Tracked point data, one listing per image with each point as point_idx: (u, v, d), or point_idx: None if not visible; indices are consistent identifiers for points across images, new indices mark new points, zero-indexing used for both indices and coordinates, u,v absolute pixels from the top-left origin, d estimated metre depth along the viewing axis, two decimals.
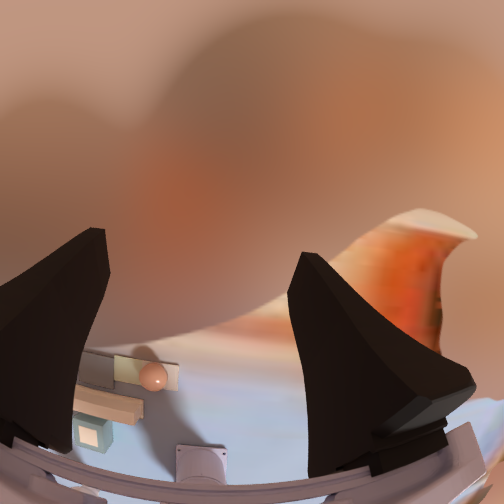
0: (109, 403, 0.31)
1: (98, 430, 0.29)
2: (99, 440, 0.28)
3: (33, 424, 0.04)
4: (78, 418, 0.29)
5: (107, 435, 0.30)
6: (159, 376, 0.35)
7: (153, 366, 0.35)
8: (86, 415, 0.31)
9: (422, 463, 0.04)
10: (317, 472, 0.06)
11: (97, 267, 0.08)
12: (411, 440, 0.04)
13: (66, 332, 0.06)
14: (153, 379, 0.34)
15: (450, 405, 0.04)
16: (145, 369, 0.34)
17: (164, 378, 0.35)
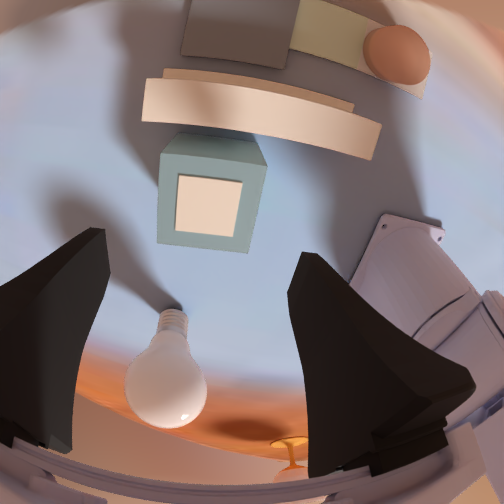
0: (293, 96, 0.12)
1: (251, 180, 0.13)
2: (243, 214, 0.14)
3: (33, 424, 0.04)
4: (180, 152, 0.12)
5: None
6: (419, 55, 0.11)
7: (412, 32, 0.10)
8: (196, 144, 0.14)
9: (422, 463, 0.04)
10: (317, 472, 0.06)
11: (97, 267, 0.08)
12: (411, 440, 0.04)
13: (66, 332, 0.06)
14: (407, 57, 0.11)
15: (450, 405, 0.04)
16: (395, 31, 0.10)
17: (427, 63, 0.11)
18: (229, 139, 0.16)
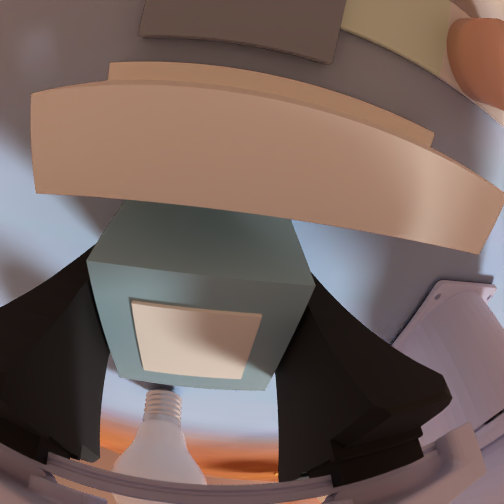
0: (367, 122, 0.06)
1: (278, 309, 0.06)
2: (261, 354, 0.07)
3: (67, 437, 0.04)
4: (128, 254, 0.06)
5: None
6: None
7: None
8: (168, 213, 0.07)
9: (422, 463, 0.04)
10: (285, 477, 0.06)
11: None
12: (378, 451, 0.04)
13: (95, 338, 0.06)
14: None
15: (421, 416, 0.04)
16: (498, 29, 0.04)
17: None
18: None
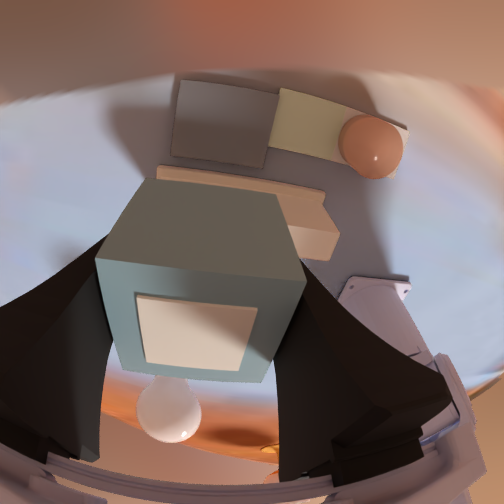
0: None
1: (273, 303, 0.07)
2: (257, 346, 0.08)
3: (67, 436, 0.04)
4: (134, 252, 0.06)
5: None
6: (392, 149, 0.15)
7: (389, 126, 0.14)
8: (170, 214, 0.08)
9: (422, 463, 0.04)
10: (286, 476, 0.06)
11: None
12: (379, 451, 0.04)
13: (95, 338, 0.06)
14: (378, 153, 0.16)
15: (421, 416, 0.04)
16: (371, 128, 0.14)
17: (399, 156, 0.16)
18: (230, 190, 0.10)
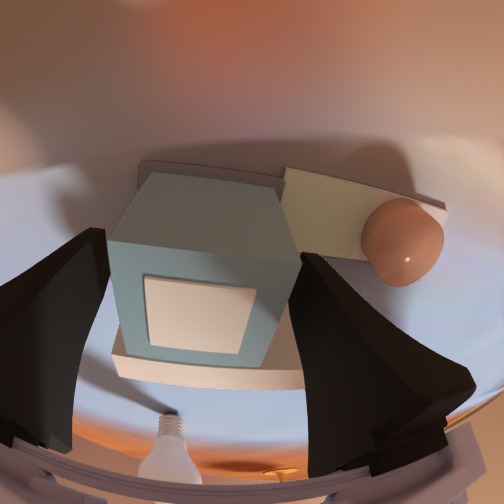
0: None
1: (271, 284, 0.07)
2: (256, 328, 0.09)
3: (33, 424, 0.04)
4: (143, 235, 0.07)
5: None
6: (429, 251, 0.12)
7: (434, 224, 0.11)
8: (176, 204, 0.08)
9: (422, 463, 0.04)
10: (317, 472, 0.06)
11: (97, 267, 0.08)
12: (411, 440, 0.04)
13: (66, 332, 0.06)
14: (413, 257, 0.12)
15: (450, 405, 0.04)
16: (413, 227, 0.11)
17: (434, 259, 0.12)
18: (231, 184, 0.11)
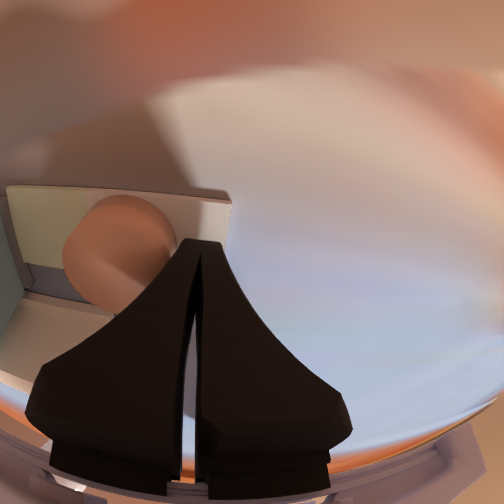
0: (22, 348, 0.09)
1: None
2: None
3: (179, 460, 0.04)
4: None
5: None
6: (142, 277, 0.09)
7: (132, 237, 0.08)
8: None
9: (422, 463, 0.04)
10: (195, 479, 0.05)
11: None
12: (262, 471, 0.04)
13: (185, 352, 0.07)
14: (115, 279, 0.09)
15: (301, 442, 0.03)
16: (94, 235, 0.08)
17: None
18: None
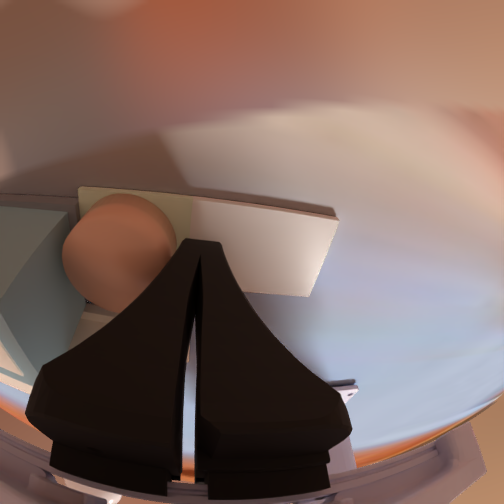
0: None
1: None
2: (16, 357, 0.06)
3: (179, 460, 0.04)
4: None
5: (48, 312, 0.08)
6: (142, 277, 0.09)
7: (134, 236, 0.08)
8: None
9: (422, 463, 0.04)
10: None
11: None
12: (262, 471, 0.04)
13: None
14: (115, 278, 0.09)
15: (300, 442, 0.03)
16: (95, 233, 0.08)
17: None
18: (30, 212, 0.08)
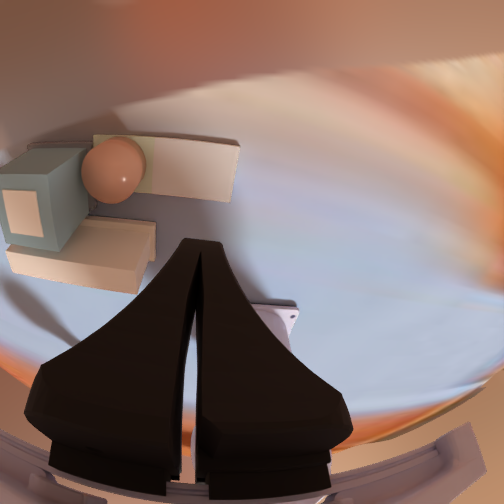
0: (84, 248, 0.17)
1: (40, 188, 0.12)
2: (44, 217, 0.13)
3: (178, 460, 0.04)
4: (3, 171, 0.11)
5: (68, 198, 0.14)
6: (124, 175, 0.15)
7: (121, 150, 0.14)
8: (26, 160, 0.12)
9: (422, 463, 0.04)
10: (195, 479, 0.05)
11: None
12: (263, 471, 0.04)
13: (185, 352, 0.07)
14: (109, 177, 0.15)
15: (301, 442, 0.03)
16: (102, 151, 0.14)
17: (132, 184, 0.16)
18: (63, 149, 0.15)
